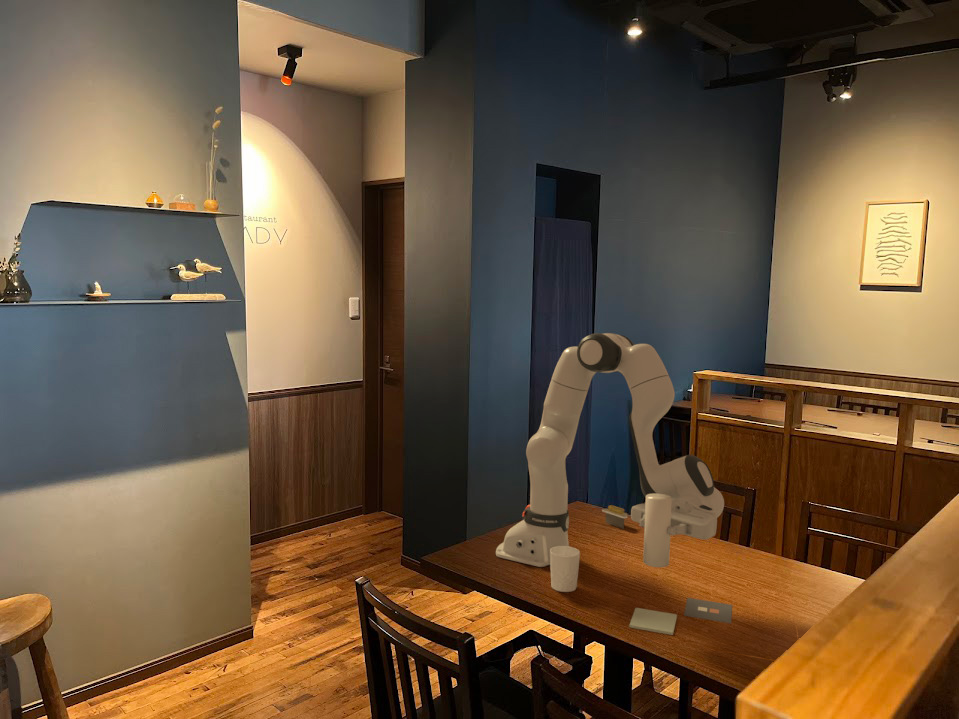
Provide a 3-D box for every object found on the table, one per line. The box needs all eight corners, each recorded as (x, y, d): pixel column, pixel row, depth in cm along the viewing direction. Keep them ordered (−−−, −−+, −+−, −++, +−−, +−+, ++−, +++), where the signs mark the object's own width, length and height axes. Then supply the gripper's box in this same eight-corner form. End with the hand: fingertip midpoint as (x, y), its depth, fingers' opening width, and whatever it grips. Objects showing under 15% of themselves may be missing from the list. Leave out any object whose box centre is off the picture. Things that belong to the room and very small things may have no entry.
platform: (607, 516, 255) (608, 498, 254) (648, 530, 241) (649, 511, 240) (584, 523, 247) (585, 504, 247) (625, 537, 233) (626, 518, 233)
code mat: (683, 616, 176) (683, 615, 176) (687, 598, 187) (687, 597, 187) (731, 624, 173) (731, 623, 173) (732, 605, 183) (732, 604, 183)
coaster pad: (629, 628, 170) (629, 624, 170) (635, 610, 179) (635, 607, 179) (672, 635, 166) (673, 632, 166) (676, 617, 176) (677, 614, 175)
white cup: (561, 578, 198) (562, 543, 197) (584, 587, 192) (585, 551, 191) (543, 586, 193) (544, 550, 192) (566, 596, 187) (567, 558, 186)
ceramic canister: (641, 565, 169) (644, 498, 168) (644, 556, 175) (647, 492, 173) (667, 569, 167) (670, 502, 166) (670, 560, 173) (673, 495, 171)
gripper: (647, 493, 186) (618, 504, 176) (723, 511, 172) (695, 524, 162) (646, 517, 187) (617, 529, 177) (721, 537, 173) (694, 551, 163)
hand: (655, 527), depth 170 cm, fingers closed on ceramic canister, 6 cm apart
